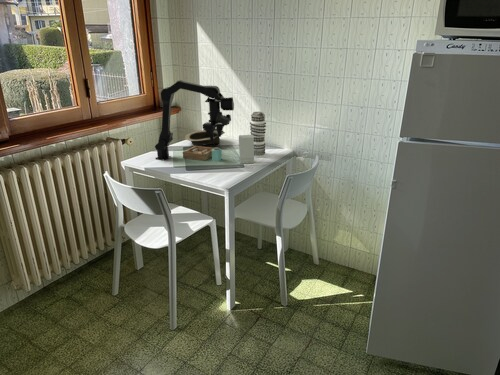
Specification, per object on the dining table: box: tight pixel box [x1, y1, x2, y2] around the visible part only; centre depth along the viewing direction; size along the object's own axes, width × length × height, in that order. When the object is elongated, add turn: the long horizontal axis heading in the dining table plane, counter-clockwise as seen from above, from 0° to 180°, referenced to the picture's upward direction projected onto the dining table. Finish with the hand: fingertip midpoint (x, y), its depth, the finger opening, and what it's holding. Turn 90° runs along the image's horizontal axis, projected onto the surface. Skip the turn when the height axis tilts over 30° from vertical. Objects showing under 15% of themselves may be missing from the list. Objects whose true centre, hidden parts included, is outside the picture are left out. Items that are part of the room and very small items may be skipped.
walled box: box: [182, 145, 215, 162], centre depth 224 cm, size 14×14×4 cm
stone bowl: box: [184, 128, 226, 147], centre depth 245 cm, size 25×25×9 cm
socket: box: [192, 148, 207, 154], centre depth 224 cm, size 5×7×3 cm
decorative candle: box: [249, 111, 267, 158], centre depth 220 cm, size 9×9×25 cm
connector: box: [211, 146, 223, 162], centre depth 216 cm, size 4×4×7 cm
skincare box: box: [238, 134, 255, 164], centre depth 211 cm, size 8×6×15 cm
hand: (216, 138), depth 213 cm, fingers open, 9 cm apart
